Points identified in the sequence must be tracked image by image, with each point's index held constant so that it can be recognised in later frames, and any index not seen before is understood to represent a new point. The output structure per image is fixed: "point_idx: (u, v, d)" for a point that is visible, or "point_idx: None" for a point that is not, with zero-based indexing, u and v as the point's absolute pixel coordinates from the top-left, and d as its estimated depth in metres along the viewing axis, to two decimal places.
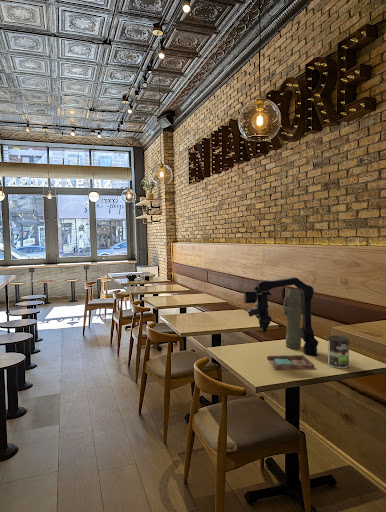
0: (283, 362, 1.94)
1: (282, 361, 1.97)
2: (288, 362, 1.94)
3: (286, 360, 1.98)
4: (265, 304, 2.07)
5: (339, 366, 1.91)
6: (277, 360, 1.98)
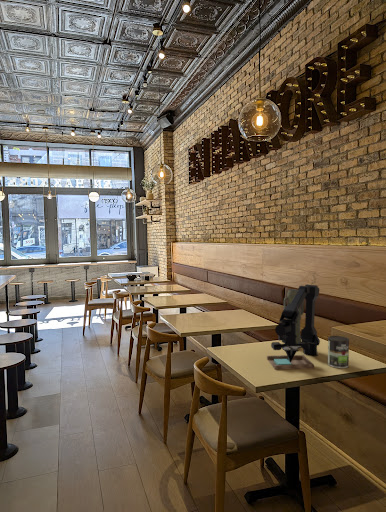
0: (282, 362, 1.94)
1: (281, 361, 1.97)
2: (287, 362, 1.94)
3: (285, 360, 1.98)
4: (285, 333, 1.94)
5: (339, 366, 1.91)
6: (276, 360, 1.98)
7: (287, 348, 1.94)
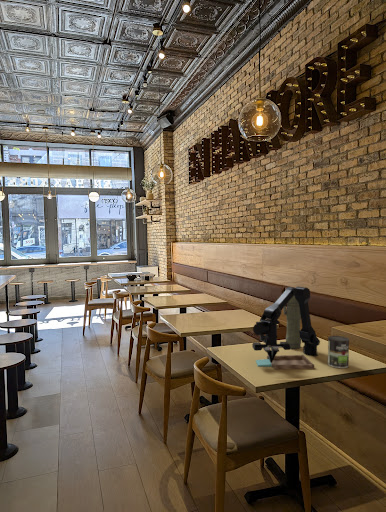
0: (263, 363, 1.95)
1: (262, 361, 1.97)
2: (268, 362, 1.94)
3: (267, 360, 1.98)
4: (266, 334, 1.94)
5: (339, 366, 1.91)
6: (258, 361, 1.98)
7: (268, 348, 1.93)
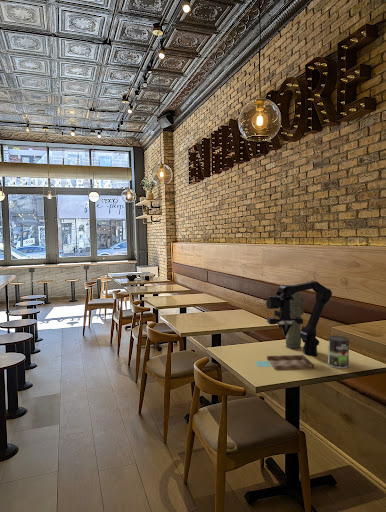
0: (263, 364, 1.95)
1: (262, 363, 1.97)
2: (268, 364, 1.94)
3: (266, 362, 1.98)
4: (280, 309, 2.06)
5: (339, 366, 1.91)
6: (257, 362, 1.98)
7: (282, 322, 2.05)
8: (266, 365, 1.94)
